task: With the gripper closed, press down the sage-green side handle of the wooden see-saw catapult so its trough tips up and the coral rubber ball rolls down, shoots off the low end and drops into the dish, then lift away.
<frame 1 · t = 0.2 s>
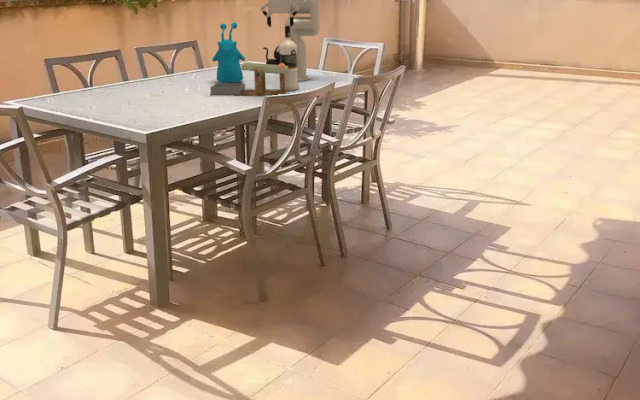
hand: (280, 26, 306), 31 cm above the table, tool pointing down, fingers open, 9 cm apart
toy 2: (276, 73, 381), on the table
dish: (228, 93, 325), on the table
toy: (230, 82, 356), on the table
lever: (265, 68, 324), point 11 cm above the table, hinge at -5.1°, touching ball
ball: (281, 67, 318), point 12 cm above the table, tilted 10°, touching lever
vodka: (289, 89, 332), on the table
stand: (260, 93, 323), on the table
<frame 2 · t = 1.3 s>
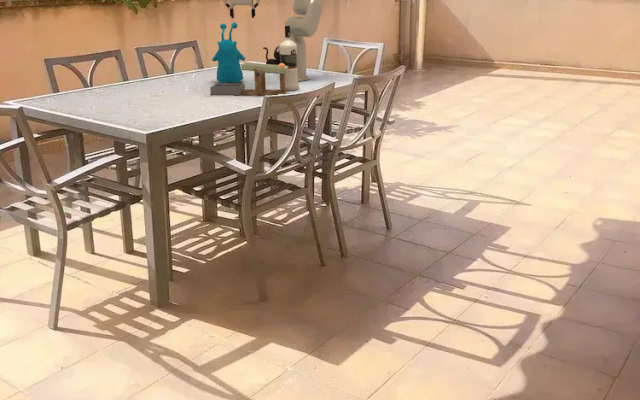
hand: (242, 17, 323), 34 cm above the table, tool pointing down, fingers open, 9 cm apart
nothing on the table moved.
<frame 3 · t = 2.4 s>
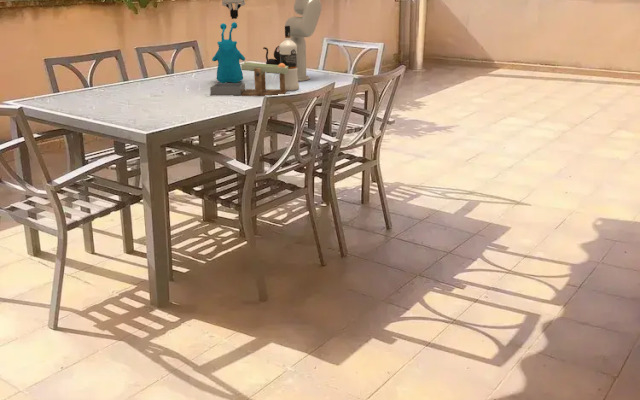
hand: (234, 18, 328), 33 cm above the table, tool pointing down, fingers closed
nothing on the table moved.
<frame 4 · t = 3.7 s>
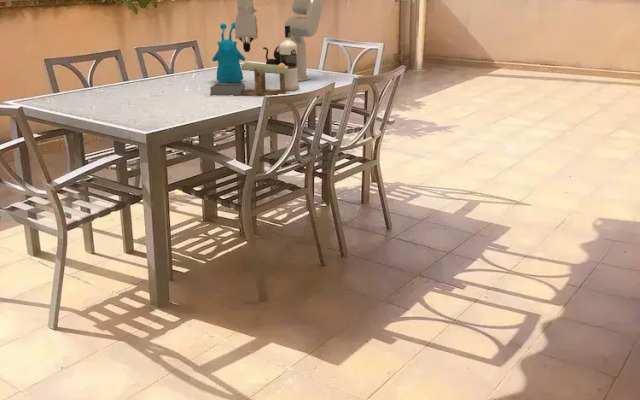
hand: (247, 51, 327), 18 cm above the table, tool pointing down, fingers closed
nothing on the table moved.
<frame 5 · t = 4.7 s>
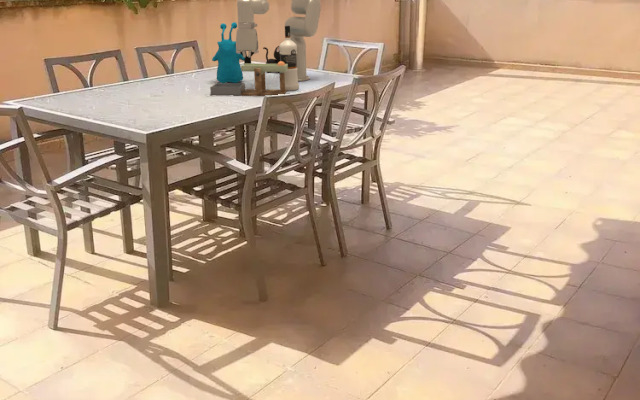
hand: (247, 65, 329), 12 cm above the table, tool pointing down, fingers closed
lever: (265, 67, 324), point 11 cm above the table, hinge at -0.6°, touching ball, gripper
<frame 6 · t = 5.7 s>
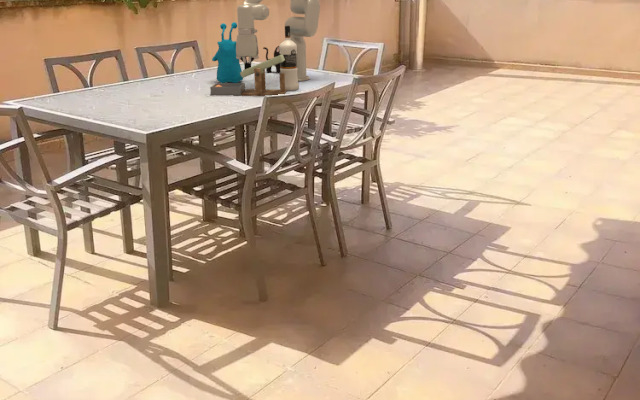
hand: (248, 71, 330), 9 cm above the table, tool pointing down, fingers closed
lever: (264, 66, 324), point 12 cm above the table, hinge at 21.5°, touching gripper
ball: (218, 88, 325), point 2 cm above the table, tilted 68°, touching dish
everything else where it was.
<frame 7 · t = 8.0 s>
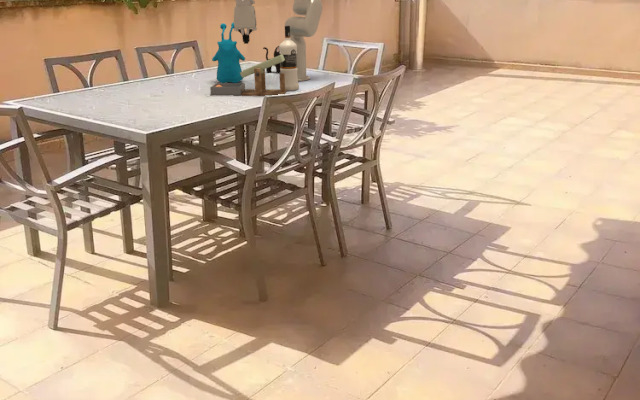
hand: (246, 43, 327), 22 cm above the table, tool pointing down, fingers closed
lever: (264, 66, 324), point 12 cm above the table, hinge at 21.6°
everything else where it was.
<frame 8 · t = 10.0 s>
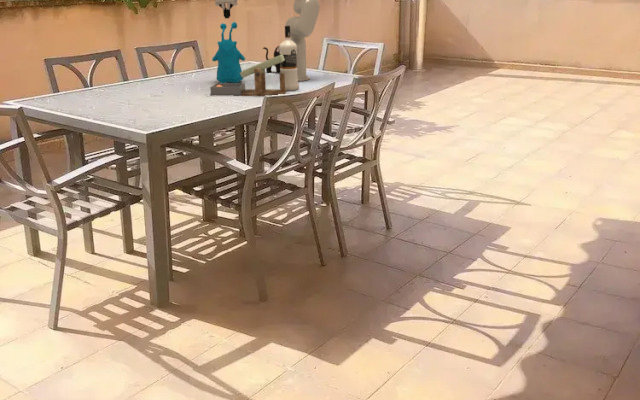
hand: (227, 18, 330), 33 cm above the table, tool pointing down, fingers closed
ball: (219, 88, 325), point 2 cm above the table, tilted 78°, touching dish
everything else where it was.
at the end: ball inside the target area on the dish (4.3 cm from its centre), point 2.3 cm above the dish's base; ball touching dish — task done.
